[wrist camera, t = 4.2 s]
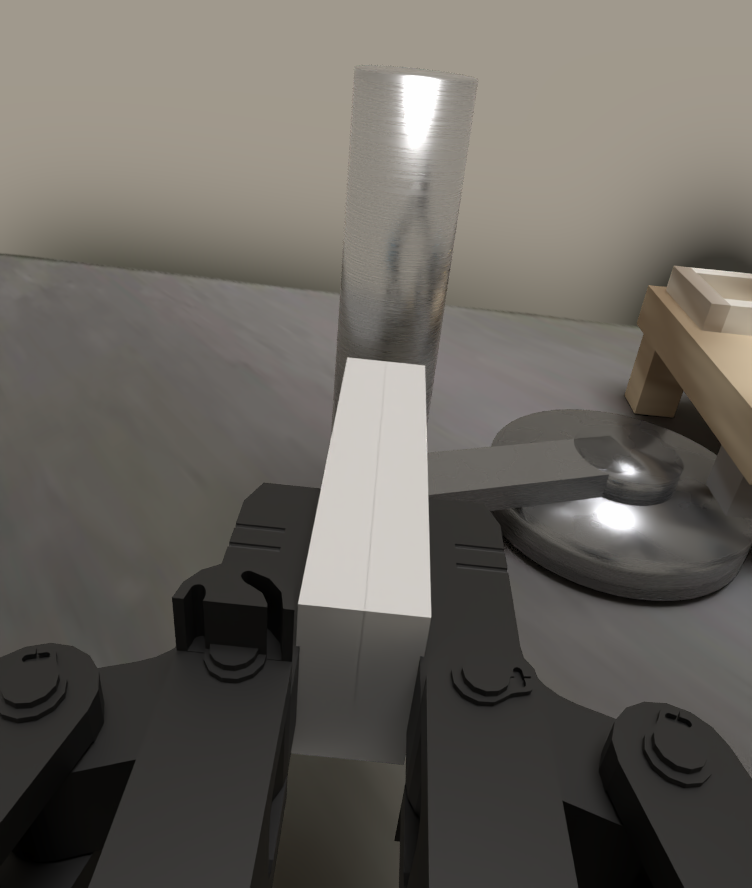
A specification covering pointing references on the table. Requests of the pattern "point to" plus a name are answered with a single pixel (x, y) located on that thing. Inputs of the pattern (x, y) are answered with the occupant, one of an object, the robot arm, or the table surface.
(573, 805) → the robot arm
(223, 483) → the table surface
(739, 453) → the stand
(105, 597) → the table surface
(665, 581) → the silver l-shaped piece
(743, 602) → the table surface
